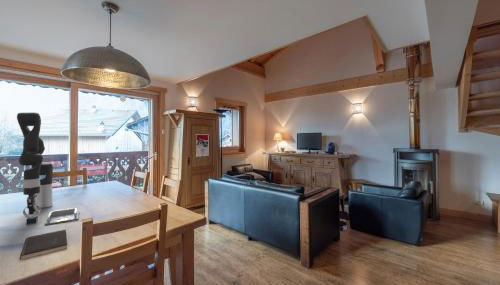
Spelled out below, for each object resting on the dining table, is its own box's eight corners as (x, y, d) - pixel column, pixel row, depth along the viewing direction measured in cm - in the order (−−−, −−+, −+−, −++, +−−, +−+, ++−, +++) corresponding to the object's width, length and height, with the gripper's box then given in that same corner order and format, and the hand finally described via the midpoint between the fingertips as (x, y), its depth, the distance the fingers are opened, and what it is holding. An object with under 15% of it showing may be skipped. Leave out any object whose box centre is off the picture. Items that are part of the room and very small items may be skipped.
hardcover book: (65, 233, 125) (65, 229, 125) (67, 249, 107) (67, 244, 107) (25, 241, 114) (25, 237, 114) (19, 260, 97) (19, 255, 97)
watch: (40, 222, 139) (40, 204, 139) (22, 225, 134) (21, 207, 134) (41, 219, 143) (41, 202, 143) (24, 222, 139) (24, 204, 138)
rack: (49, 216, 149) (48, 210, 148) (79, 212, 158) (79, 206, 158) (44, 225, 134) (44, 219, 134) (78, 220, 143) (78, 213, 143)
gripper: (26, 184, 142) (26, 211, 142) (20, 189, 130) (20, 217, 131) (42, 183, 146) (42, 209, 147) (37, 187, 135) (38, 215, 135)
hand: (32, 213), depth 139 cm, fingers closed on watch, 4 cm apart
